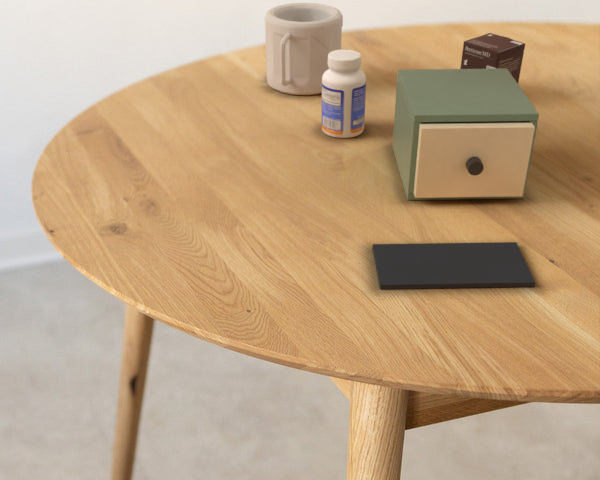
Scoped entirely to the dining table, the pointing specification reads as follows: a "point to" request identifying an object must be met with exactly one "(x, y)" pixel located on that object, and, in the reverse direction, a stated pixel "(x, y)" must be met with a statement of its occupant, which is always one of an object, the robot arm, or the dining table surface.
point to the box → (493, 54)
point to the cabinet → (453, 109)
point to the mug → (300, 45)
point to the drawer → (472, 159)
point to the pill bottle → (343, 95)
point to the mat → (451, 265)
